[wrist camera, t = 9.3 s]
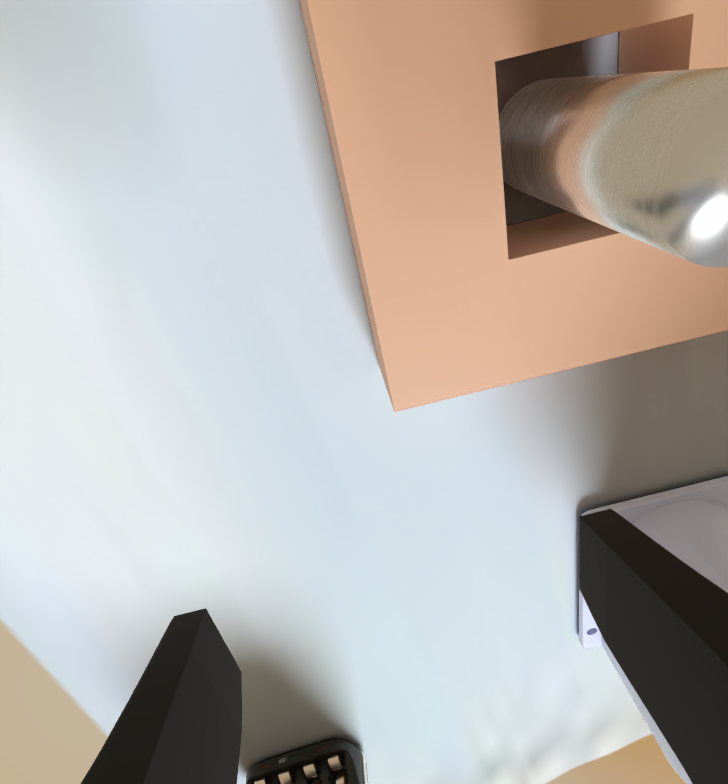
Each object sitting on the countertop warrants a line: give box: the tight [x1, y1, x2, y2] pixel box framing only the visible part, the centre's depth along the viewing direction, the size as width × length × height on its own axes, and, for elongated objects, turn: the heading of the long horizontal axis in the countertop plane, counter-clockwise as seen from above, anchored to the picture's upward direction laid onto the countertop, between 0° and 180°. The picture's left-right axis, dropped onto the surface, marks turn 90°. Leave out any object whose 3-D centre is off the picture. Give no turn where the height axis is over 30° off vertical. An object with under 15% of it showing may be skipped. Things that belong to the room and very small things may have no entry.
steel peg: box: [499, 67, 728, 267], centre depth 12 cm, size 3×3×8 cm
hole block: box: [299, 0, 728, 412], centre depth 14 cm, size 12×12×3 cm
